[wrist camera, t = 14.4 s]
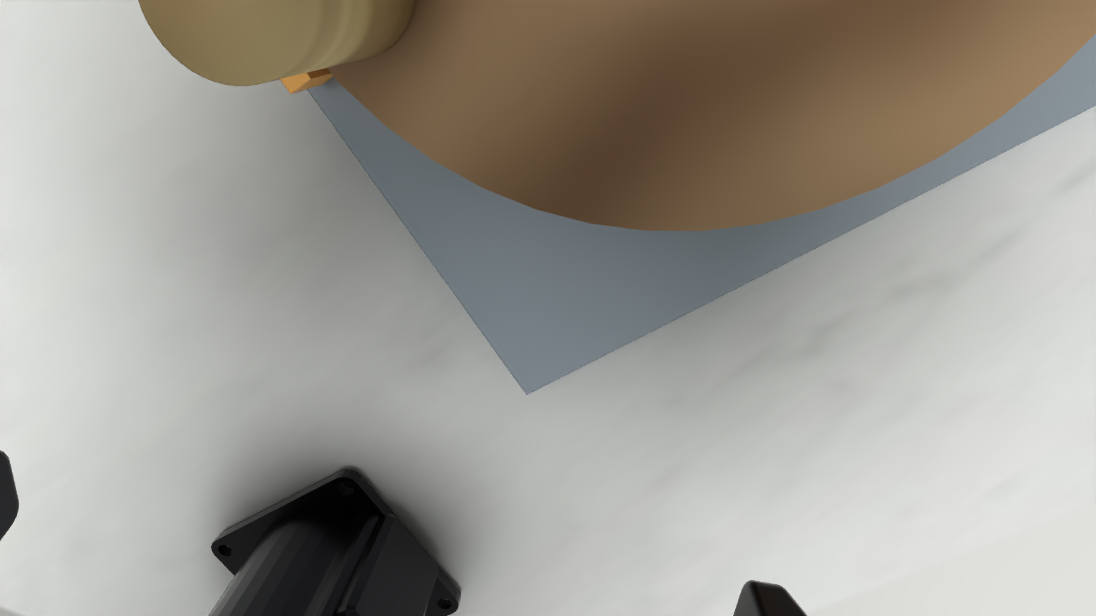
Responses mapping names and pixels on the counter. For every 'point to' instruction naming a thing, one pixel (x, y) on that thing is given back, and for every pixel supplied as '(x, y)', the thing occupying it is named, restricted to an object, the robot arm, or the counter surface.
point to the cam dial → (653, 89)
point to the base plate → (624, 235)
